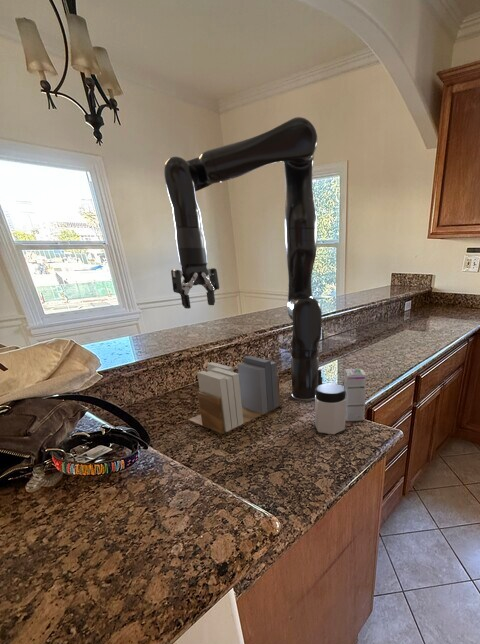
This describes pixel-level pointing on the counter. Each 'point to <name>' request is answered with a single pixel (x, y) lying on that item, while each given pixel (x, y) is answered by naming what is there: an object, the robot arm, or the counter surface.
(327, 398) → the jar
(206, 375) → the white books
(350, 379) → the syrup box
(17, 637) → the counter surface
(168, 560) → the counter surface
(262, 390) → the grey books
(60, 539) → the counter surface
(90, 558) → the counter surface
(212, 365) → the thin white book
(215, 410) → the book rack
